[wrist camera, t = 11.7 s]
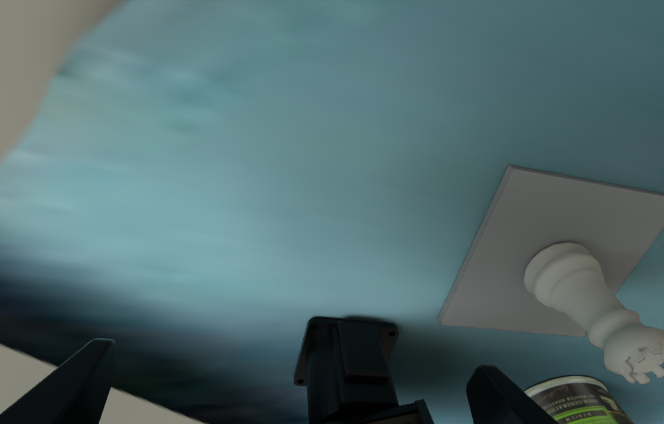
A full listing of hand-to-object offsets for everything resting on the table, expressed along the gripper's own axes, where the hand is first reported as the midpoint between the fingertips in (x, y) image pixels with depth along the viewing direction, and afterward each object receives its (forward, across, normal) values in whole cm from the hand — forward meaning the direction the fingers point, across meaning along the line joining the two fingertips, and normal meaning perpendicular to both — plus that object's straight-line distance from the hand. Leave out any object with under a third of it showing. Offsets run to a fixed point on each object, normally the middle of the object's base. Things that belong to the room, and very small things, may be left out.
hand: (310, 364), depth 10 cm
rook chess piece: (+13, -18, +4) cm, 22 cm away
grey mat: (+13, -18, +4) cm, 23 cm away
